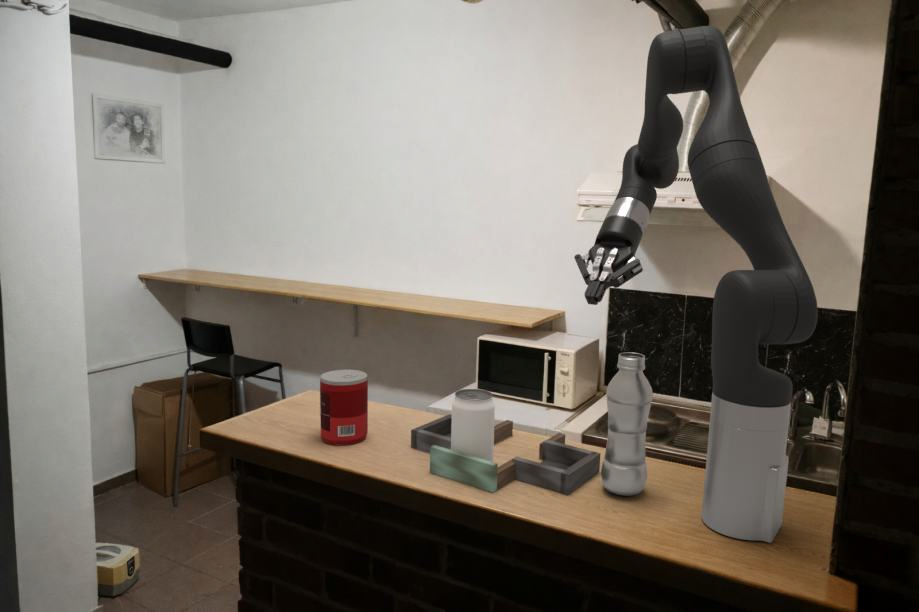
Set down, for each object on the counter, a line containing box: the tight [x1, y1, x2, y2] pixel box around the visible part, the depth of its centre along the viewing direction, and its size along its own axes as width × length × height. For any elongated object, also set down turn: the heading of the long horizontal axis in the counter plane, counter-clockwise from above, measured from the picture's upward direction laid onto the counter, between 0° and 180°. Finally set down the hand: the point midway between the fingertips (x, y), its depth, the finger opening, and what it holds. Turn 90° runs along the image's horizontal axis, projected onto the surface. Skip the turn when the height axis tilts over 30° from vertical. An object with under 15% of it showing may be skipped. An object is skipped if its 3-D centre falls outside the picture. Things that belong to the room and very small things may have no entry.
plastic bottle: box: [600, 351, 654, 496], centre depth 98 cm, size 6×7×20 cm
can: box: [451, 388, 496, 462], centre depth 106 cm, size 6×6×12 cm
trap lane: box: [410, 413, 602, 496], centre depth 110 cm, size 29×22×4 cm
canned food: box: [319, 369, 369, 446], centre depth 118 cm, size 8×8×11 cm
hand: (591, 301), depth 120 cm, fingers closed
